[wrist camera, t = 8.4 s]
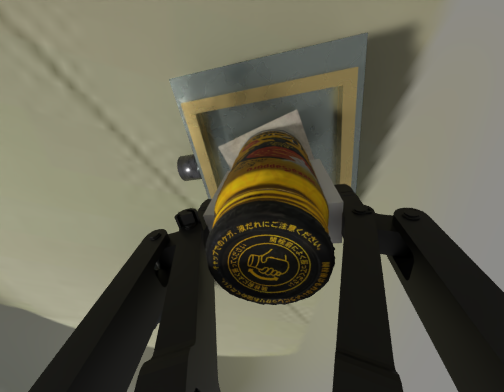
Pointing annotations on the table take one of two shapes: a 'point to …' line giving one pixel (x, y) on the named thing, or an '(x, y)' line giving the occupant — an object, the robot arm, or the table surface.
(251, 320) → the table surface
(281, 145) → the condiment
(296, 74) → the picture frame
